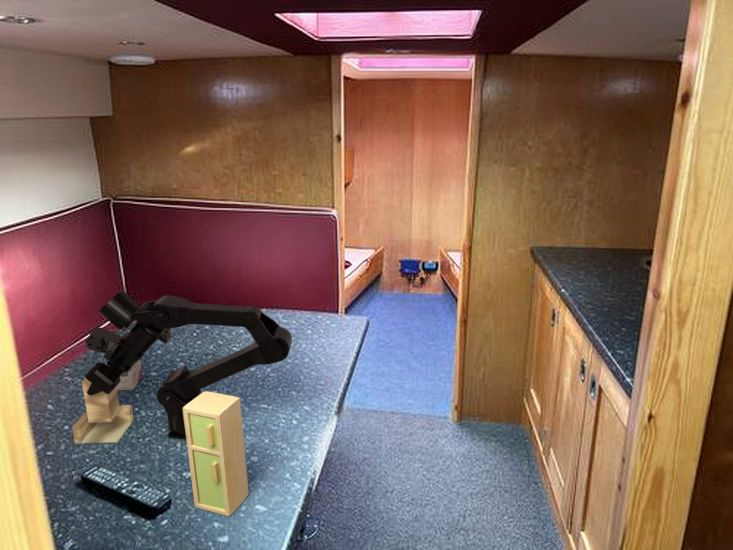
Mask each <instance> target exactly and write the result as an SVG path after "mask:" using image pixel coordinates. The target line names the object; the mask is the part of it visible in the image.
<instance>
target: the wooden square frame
mask: <svg viewBox="0 0 733 550" xmlns="http://www.w3.org/2000/svg"><path fill="white" fill-rule="evenodd" d="M119 407H120V411H119V412H118V414H117V415H116V416H115V418H114V419H113V420H112V421H111V422H88V416H87V410H86V411H85V413H83V415H82V416H80V418H79V419H78V420H77V421H76V422H75V423H74V424H73V425H72V426H71V428H72V429H71V430H72V436H73V440H74V444H90V443H91V444H92V443H94V444H95V443H99V444H100V443H118V442H119V441H120V440H121V438H122V437H123V436H124V434H125V433H126V431H127V430H128V428H130V426H131V424H132V423H133V422H134V414H133V413H134V411H133V405H132V404H123V405H121V404H119Z"/></svg>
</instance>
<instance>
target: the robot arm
mask: <svg viewBox="0 0 733 550" xmlns="http://www.w3.org/2000/svg"><path fill="white" fill-rule="evenodd" d="M97 314H99V315H100V316H102V317H103V318H104V319H106V320H107V321H108V322H109V323H111V324H112V325H113V326H114V327H116V328H117V330H121V331H122V330H123V329H124V328H125V330H126V329H128V328H129V327H130V326H132V324H133V323H134V322H135V321H136V323H135V324H134V325H133V326H132V327H131V328H130V330H128V332H126V333H124V334H123V335H122V336H121V335H119V334H117V333H116V332H114V331H111V330H109V329H106V328H103V327H96V328H94V329H93V330H92V331H91V332H90V333H89V336H88V338H87V339H86V340H85V341H84V342H85V344H86V345H85V347H86V348H87V350H90V351H93V352H96V353H99V352H100V353H103V354H104V355H103V357H102V358H104V359H105V360H107V361H106V362H105V363H104V362H96V363H95V364H94V365H93V366H92V367H91V368H90V369H89V371H87V373H86V374H85V375H84V379H85V378H86V379H87V380H88V381H90V382H91V385H90V387H89V389H88V391H87V394H89V395H90V396H91V395H94V394H96V393H99V392H102V391H103V392H104V393H105V394H110V393H111V392H112V391H113V389H114V388H115V387H116V386H117V385H118V384H119V383H120V381H121V379H120V375H121V374H123V373H125V372H126V373H127V372H128V371H129V370H130V369H131V368H132V366H133V365H134V364H135V363H137V362H138V361H139V360H140V361H141V359H142V357H143V356H144V355H145V354H146V353H147V351H149V349H150V348H152V346H153V345H154V344H155V343H156V342H157V341H158V340H159V341H160V342H162V343H163V344H167V343H168V342H169V340H170V339H171V338H172V333H171V329H174V328H175V329H176V328H180V327H184V326H188V325H189V326H190V325H203V326H204V325H205V326H218V327H219V326H222V327H236V328H237V327H238V328H245V329H246V330H247V331H248V333H249V334H250V336H251V337H252V339H253V341H254V342H253V343H251V344H250V345H248V346H246V347H244V348H241V349H239V350H238V351H237V350H236V352H235V351H234V352H232V353H231V354H228V355H226V356H224V357H222V358H219V359H217V360H215V361H213V362H210V363H209V364H206V365H204V366H202V367H200V368H196V369H189V368H188V365H187V364H185V365H183V366H181V367H180V368H178V369H175V370H174V369H173V370H171V371H170V372H169V374H168V375H167V376H166V377H165V379H164V380H163V382H162V383H161V386H160V387H159V388H158V389H157V392H156V400H157V401H158V403H159V404H160V405H161V406H162V407H163V409H164V411H165V413H166V414H167V422H168V430H169V432H168V434H167V438H173V439H180V440H181V439H183V440H187V439H186V432H185V424H184V416H183V407H184V406H185V405H186V404H188V403H189V402H191V401H192V400H193V399H195V398H196V397H197V396H199V395H200V394H201V393H202V389H204V388H206V387H209V386H211V385H213V384H215V383H218V382H220V381H222V380H224V379H227V378H229V377H231V376H234V375H236V374H238V373H240V372H243V371H245V370H247V369H249V368H251V367H254V366H257V365H259V366H261V365H264V366H268V365H272V364H275V363H280V362H283V361H284V360H286V358H287V357H288V355H289V353H290V350H291V346H292V342H293V336H292V333H291V332H290V331H289V330H288V329H287V328H285V327H281V326H280V324H278V323H277V322H276V321H275V319H273V318H271V317H270V316H269V315H267V314H265V313H264V312H263V311H262V310H261V309H260V308H259V307H258V306H256V305H247V306H246V305H245V306H243V305H231V304H230V305H227V304H213V303H212V304H211V303H197V302H192V301H190V300H188V299H186V298H183V297H179V296H174V295H170V294H169V295H163V296H161V297H160V298H159V299H158V300H153V301H146V302H144V303H143V304H142V305H140V303H138V302H136V301H135V300H134V299H133V298H131V297H130V296H129V294H128V293H127V292H126V291H125V290H123V289H121V290H119V291H118V292H117V293H116V294H115V295H114V296H113V297H112V298H111V299H110V300H109V301H107V302H106V303H105V304H104V305H102V306H101V307H100V309H99V310H98V312H97Z"/></svg>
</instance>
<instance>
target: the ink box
mask: <svg viewBox="0 0 733 550" xmlns="http://www.w3.org/2000/svg"><path fill="white" fill-rule="evenodd" d="M142 372H143V371H142V363H141V359H140V360H139V361H138V362H137V363H135V364H134V365H133V366H132V368H131V369H130V370H129V371H128V372H127V373H126V372H125V373H123V374H121V375H120V379H121V381H120V383H119V384H118V385H117V386H116V387H117V391H133V389H134V388H136V386H137V385H138V383H139V382H140V380H141V379H142V377H143V375H142ZM134 390H135V389H134Z"/></svg>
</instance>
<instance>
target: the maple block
mask: <svg viewBox="0 0 733 550" xmlns="http://www.w3.org/2000/svg"><path fill="white" fill-rule="evenodd" d="M81 384H82V391H83V397H84V403H85V408H86V409H85V410H86V411H87V416H88V422H111V421H112V420H113V419H114V418H115V416H116V415H117V414H118V412H119V411H120V407H119V405H120V402H119V401H120V400H119V396H118V394H119V393H118V390H117V387H115V388H114V389H113V391H112V392H111V393H110V394H105V393H104V392H103V391H102V392H99V393H96V394H94V395H91V396H90V395H89V394H87V391H88V389H89V387H90V385H91V382H90V381H88V380H87V379H86V378H85V377H84V379H83V380H82V381H81Z"/></svg>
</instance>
